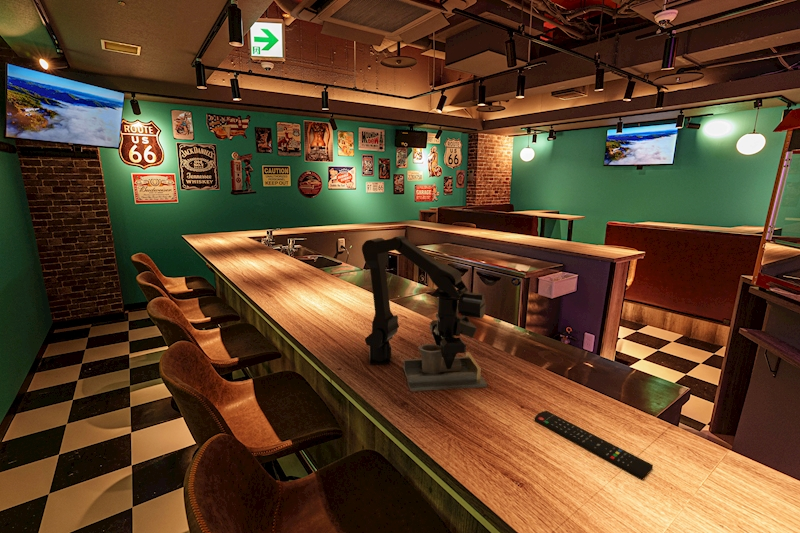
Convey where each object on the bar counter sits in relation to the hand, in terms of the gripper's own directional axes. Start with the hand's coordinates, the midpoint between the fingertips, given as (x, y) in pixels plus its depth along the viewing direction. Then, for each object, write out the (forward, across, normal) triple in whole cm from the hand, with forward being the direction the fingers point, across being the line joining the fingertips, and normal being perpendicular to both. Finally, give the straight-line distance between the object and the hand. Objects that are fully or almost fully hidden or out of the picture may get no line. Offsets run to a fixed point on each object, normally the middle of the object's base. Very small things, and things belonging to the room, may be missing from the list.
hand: (445, 362), depth 110 cm
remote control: (+5, -32, -24) cm, 41 cm away
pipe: (+4, +1, +2) cm, 4 cm away
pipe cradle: (+4, 0, +1) cm, 5 cm away
